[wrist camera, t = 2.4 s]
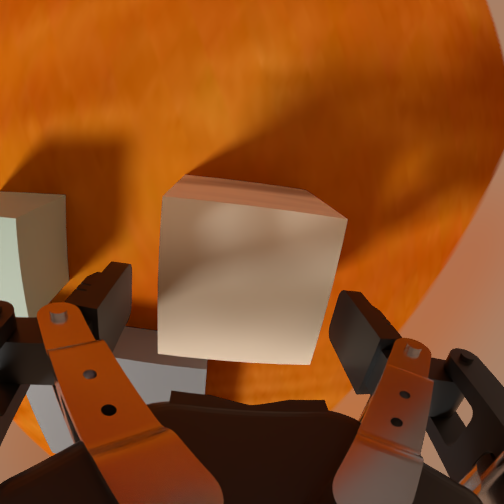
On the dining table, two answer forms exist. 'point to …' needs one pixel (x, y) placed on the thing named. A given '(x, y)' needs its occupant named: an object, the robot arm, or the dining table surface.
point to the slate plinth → (138, 372)
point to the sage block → (32, 250)
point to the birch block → (244, 270)
